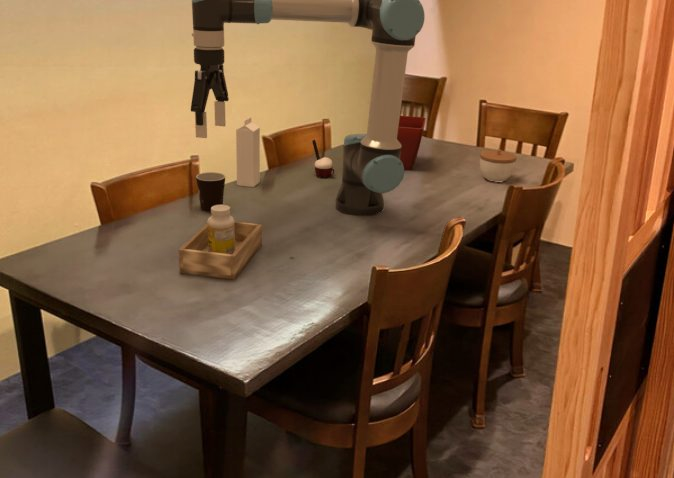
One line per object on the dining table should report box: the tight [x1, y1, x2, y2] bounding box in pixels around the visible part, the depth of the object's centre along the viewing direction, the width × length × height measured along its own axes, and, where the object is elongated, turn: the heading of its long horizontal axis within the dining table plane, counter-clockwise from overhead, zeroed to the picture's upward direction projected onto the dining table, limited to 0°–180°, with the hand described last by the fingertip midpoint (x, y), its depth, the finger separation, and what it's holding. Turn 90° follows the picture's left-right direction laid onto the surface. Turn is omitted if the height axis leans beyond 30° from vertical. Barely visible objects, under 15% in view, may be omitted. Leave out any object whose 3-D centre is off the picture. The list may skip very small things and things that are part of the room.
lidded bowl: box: [479, 149, 517, 181], centre depth 251 cm, size 13×13×11 cm
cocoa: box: [312, 139, 335, 179], centre depth 246 cm, size 10×6×12 cm, turn 32°
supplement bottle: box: [206, 204, 235, 254], centre depth 175 cm, size 7×7×13 cm
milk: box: [235, 117, 261, 188], centre depth 232 cm, size 6×6×22 cm
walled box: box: [178, 220, 263, 281], centre depth 177 cm, size 14×22×6 cm, turn 169°
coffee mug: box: [195, 171, 226, 213], centre depth 212 cm, size 12×9×10 cm
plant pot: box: [397, 115, 427, 171], centre depth 262 cm, size 19×19×17 cm
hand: (211, 131), depth 183 cm, fingers open, 13 cm apart
